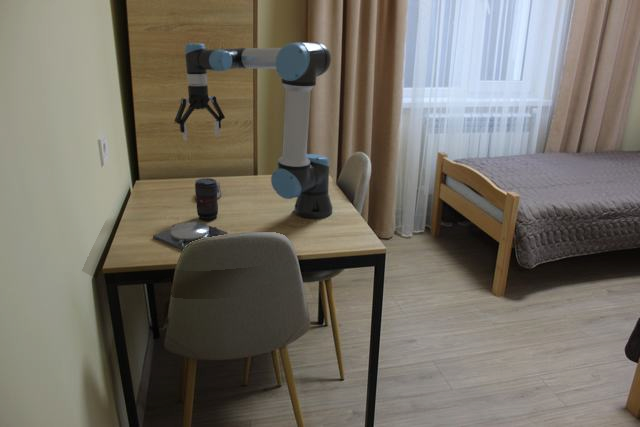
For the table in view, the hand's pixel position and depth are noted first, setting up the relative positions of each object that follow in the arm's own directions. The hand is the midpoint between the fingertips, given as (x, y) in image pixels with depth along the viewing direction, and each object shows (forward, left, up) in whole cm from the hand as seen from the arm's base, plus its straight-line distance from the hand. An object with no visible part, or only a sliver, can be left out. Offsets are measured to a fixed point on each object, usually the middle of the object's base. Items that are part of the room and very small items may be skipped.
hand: (201, 138), depth 208 cm
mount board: (-27, +30, -26) cm, 48 cm away
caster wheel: (+1, -3, -26) cm, 27 cm away
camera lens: (-18, +14, -26) cm, 35 cm away
